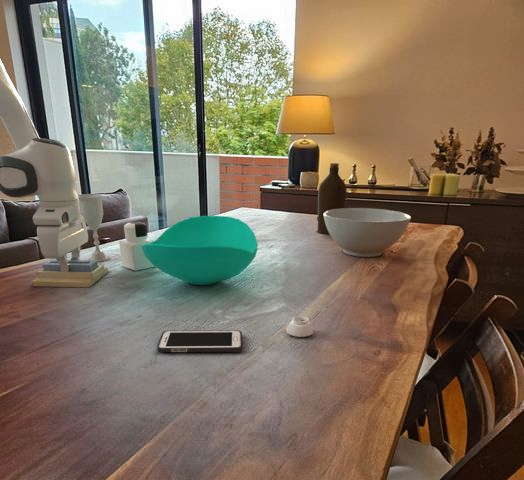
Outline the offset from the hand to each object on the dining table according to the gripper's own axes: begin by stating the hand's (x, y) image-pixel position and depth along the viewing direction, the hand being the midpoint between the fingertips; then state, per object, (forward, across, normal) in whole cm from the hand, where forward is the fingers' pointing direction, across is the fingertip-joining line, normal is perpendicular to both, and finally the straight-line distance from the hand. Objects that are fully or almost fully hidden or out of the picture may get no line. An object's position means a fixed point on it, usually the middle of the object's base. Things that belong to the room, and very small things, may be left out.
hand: (71, 267), depth 117 cm
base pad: (+3, 0, 0) cm, 3 cm away
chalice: (+3, -20, 0) cm, 20 cm away
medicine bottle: (+3, -13, +14) cm, 19 cm away
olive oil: (+3, -69, +74) cm, 101 cm away
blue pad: (+2, 0, 0) cm, 2 cm away
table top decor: (+3, 0, +34) cm, 34 cm away
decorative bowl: (+3, -35, +81) cm, 88 cm away
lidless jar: (+3, +33, +57) cm, 66 cm away
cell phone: (+3, +39, +39) cm, 55 cm away
